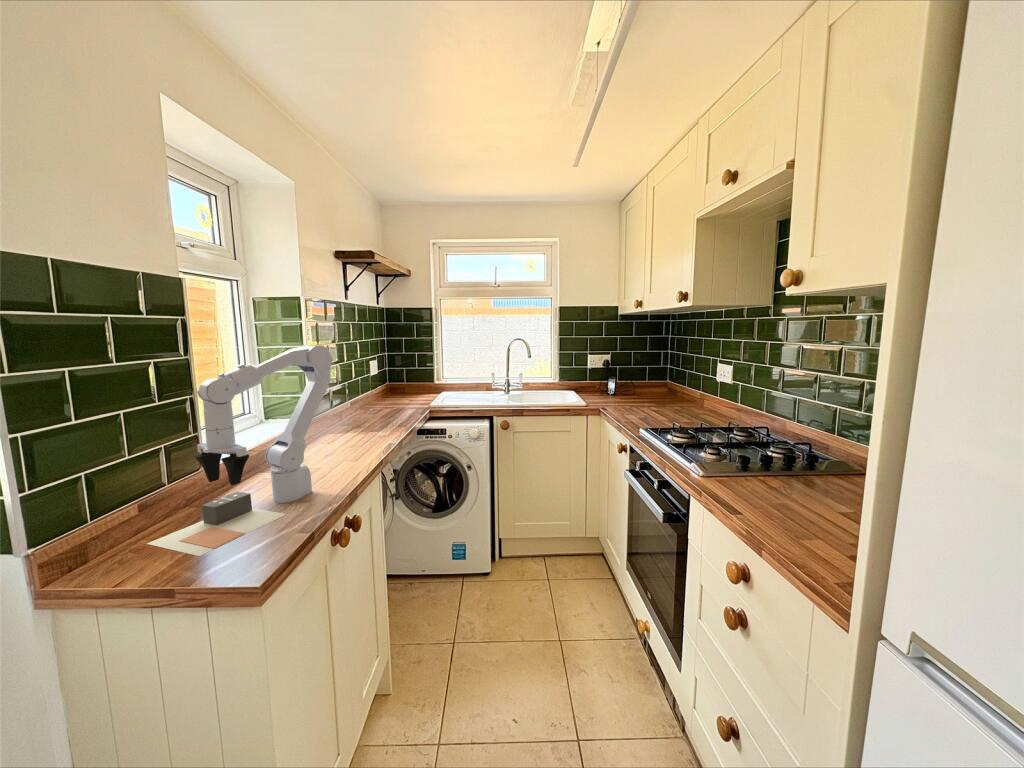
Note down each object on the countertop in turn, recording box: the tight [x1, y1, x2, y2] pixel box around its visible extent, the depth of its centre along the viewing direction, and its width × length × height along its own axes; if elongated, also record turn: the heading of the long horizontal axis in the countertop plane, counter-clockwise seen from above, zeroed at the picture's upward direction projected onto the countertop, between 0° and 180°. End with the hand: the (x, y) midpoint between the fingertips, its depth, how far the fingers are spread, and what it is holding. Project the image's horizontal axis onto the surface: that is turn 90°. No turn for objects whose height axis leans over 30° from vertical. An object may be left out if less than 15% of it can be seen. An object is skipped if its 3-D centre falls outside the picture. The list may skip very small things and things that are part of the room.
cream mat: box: [146, 507, 287, 557], centre depth 98 cm, size 21×17×1 cm
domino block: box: [201, 491, 253, 525], centre depth 104 cm, size 9×5×5 cm, turn 160°
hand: (224, 482), depth 103 cm, fingers open, 7 cm apart
